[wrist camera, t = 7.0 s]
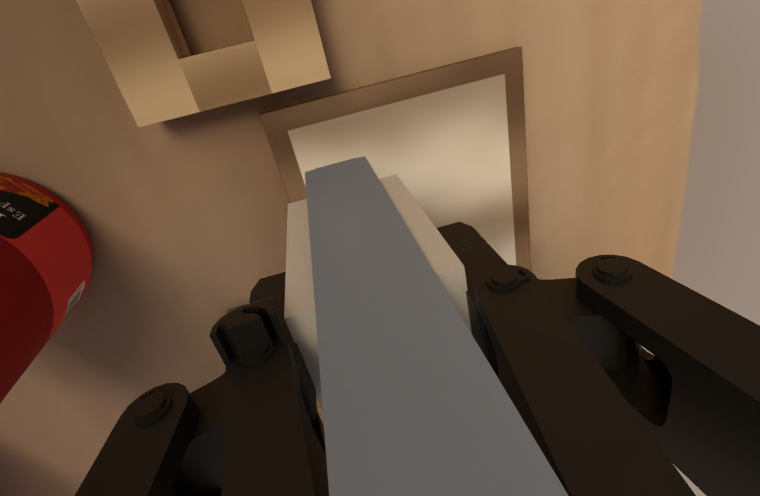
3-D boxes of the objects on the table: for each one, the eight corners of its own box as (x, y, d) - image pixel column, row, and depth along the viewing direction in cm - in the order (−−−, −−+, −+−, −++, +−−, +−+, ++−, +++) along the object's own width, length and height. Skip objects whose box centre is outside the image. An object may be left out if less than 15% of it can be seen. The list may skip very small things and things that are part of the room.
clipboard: (260, 113, 20) (258, 118, 19) (517, 46, 21) (529, 47, 20) (348, 367, 28) (350, 380, 27) (529, 312, 29) (538, 323, 28)
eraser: (304, 162, 17) (350, 787, 3) (359, 146, 18) (673, 670, 3) (326, 233, 19) (428, 867, 4) (377, 219, 19) (636, 787, 5)
